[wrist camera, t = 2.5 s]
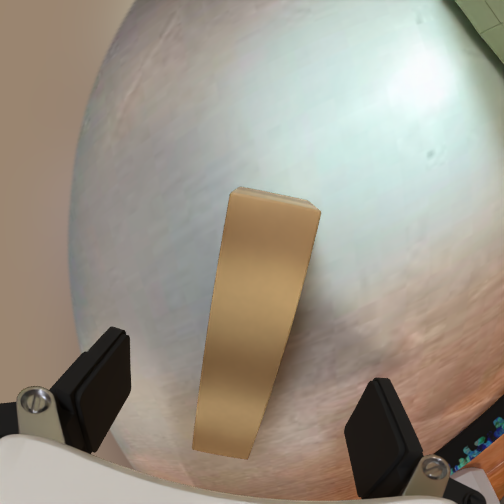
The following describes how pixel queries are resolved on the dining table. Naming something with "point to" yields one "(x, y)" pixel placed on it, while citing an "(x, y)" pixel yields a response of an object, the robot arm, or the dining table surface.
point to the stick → (251, 315)
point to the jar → (477, 482)
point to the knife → (474, 437)
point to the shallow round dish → (487, 21)
